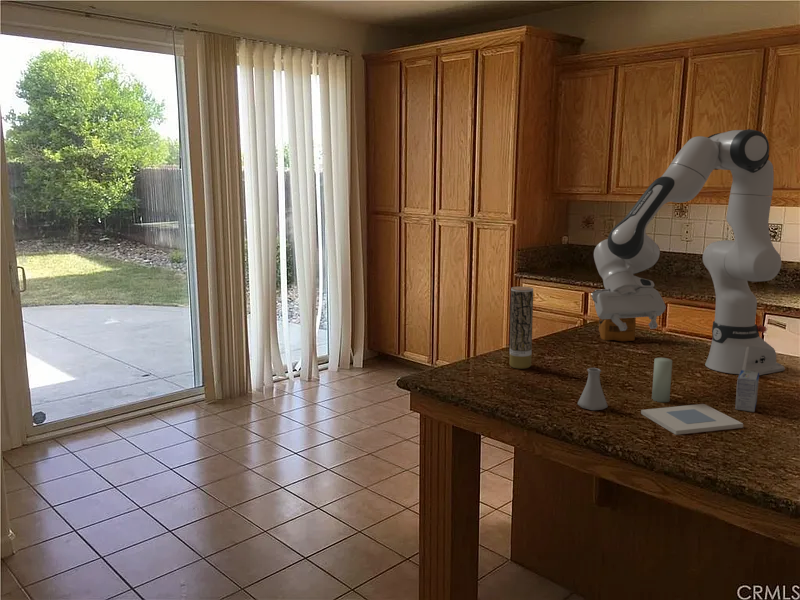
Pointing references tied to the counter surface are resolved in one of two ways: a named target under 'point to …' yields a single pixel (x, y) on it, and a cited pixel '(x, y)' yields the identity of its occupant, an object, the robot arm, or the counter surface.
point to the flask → (593, 392)
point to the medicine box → (747, 390)
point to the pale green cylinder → (662, 379)
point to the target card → (691, 419)
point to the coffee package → (617, 330)
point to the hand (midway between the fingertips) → (639, 328)
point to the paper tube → (521, 327)
